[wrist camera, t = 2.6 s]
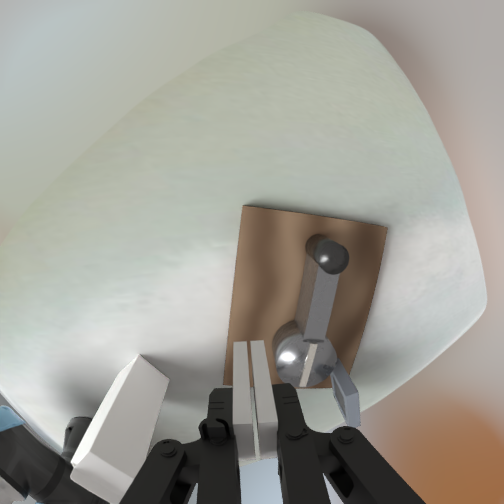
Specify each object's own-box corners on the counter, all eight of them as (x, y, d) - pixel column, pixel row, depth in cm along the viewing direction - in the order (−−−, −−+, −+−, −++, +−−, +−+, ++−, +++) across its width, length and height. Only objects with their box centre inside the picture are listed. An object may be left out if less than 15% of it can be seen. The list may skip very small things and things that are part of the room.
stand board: (223, 378, 37) (223, 386, 35) (242, 205, 32) (243, 206, 30) (341, 381, 38) (345, 388, 36) (381, 225, 33) (388, 227, 31)
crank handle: (318, 365, 35) (330, 392, 29) (267, 363, 34) (273, 392, 29) (347, 238, 31) (369, 248, 26) (290, 230, 31) (302, 239, 25)
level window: (333, 395, 37) (349, 429, 29) (327, 361, 35) (345, 396, 28) (350, 389, 37) (368, 422, 29) (346, 355, 35) (366, 388, 28)
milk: (148, 396, 37) (108, 510, 16) (118, 372, 36) (60, 481, 15) (170, 378, 37) (134, 505, 15) (139, 352, 35) (78, 474, 14)
